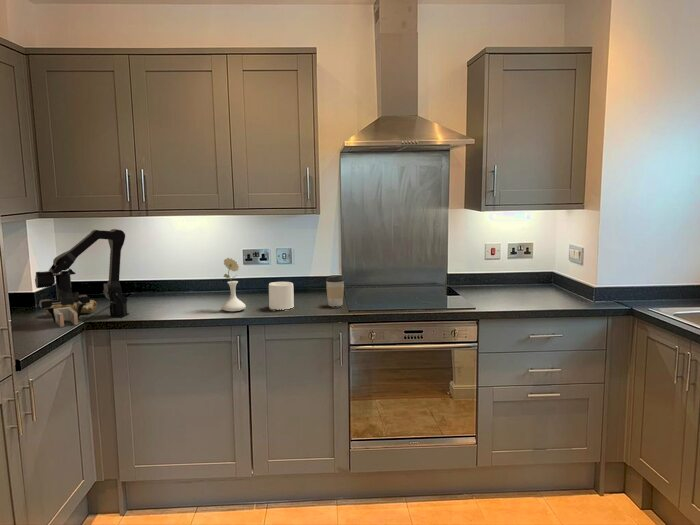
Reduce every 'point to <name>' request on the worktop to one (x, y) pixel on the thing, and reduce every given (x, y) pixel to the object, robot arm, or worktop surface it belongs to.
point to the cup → (281, 295)
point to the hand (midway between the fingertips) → (66, 320)
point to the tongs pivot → (64, 312)
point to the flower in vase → (232, 289)
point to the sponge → (86, 308)
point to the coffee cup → (335, 290)
